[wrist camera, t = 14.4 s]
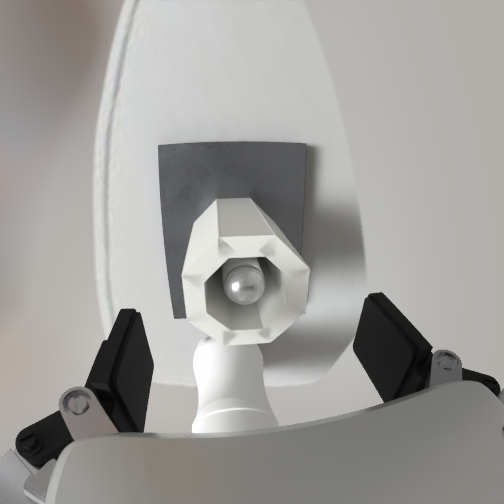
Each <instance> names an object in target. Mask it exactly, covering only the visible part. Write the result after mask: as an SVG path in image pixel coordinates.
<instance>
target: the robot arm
mask: <svg viewBox="0 0 504 504" xmlns="http://www.w3.org/2000/svg"><path fill="white" fill-rule="evenodd" d="M432 348H433V347H432V346H431V345H430V343H429V342H428V341H427V340H426V339H425V338H424V337H423V336H422V334H421V333H420V332H419V331H418V330H417V329H416V328H415V327H414V326H413V325H412V323H411V322H410V321H409V320H408V319H407V318H406V317H405V316H404V315H403V314H402V313H401V312H400V311H399V309H397V307H396V306H395V305H394V304H393V303H392V302H391V301H390V300H389V299H388V298H387V297H386V296H385V295H384V294H383V293H382V292H380V293H371V294H369V295H368V297H367V298H365V301H364V305H363V309H362V313H361V317H360V321H359V325H358V328H357V332H356V336H355V339H354V343H353V350H354V352H355V354H356V356H357V358H358V359H359V361H360V362H361V364H362V366H363V368H364V369H365V371H366V373H367V374H368V376H369V378H370V379H371V381H372V383H373V384H374V386H375V388H376V390H377V391H378V393H379V395H380V396H381V398H382V400H383V402H384V403H383V404H379V405H376V406H373V407H369V408H366V409H362V410H358V411H354V412H351V413H347V414H343V415H338V416H335V417H329V418H325V419H320V420H315V421H310V422H304V423H299V424H293V425H287V426H280V427H272V428H264V429H255V430H245V431H233V432H216V433H143V432H144V426H145V419H146V411H147V405H148V399H149V393H150V386H151V381H152V375H153V369H154V363H153V359H152V355H151V352H150V348H149V344H148V341H147V337H146V333H145V329H144V325H143V321H142V317H141V314H140V312H136V310H135V309H121V310H120V312H119V314H118V316H117V319H116V321H115V323H114V326H113V328H112V330H111V333H110V335H109V337H108V340H104V341H103V342H102V344H101V347H100V349H99V351H98V354H97V356H96V359H95V361H94V364H93V366H92V369H91V372H90V374H89V376H88V379H87V382H86V384H85V387H74V388H70V389H69V390H67V391H66V392H64V393H63V394H62V396H61V398H60V400H59V409H60V410H59V411H57V412H55V413H53V414H51V415H49V416H48V417H46V418H44V419H42V420H40V421H38V422H36V423H35V424H32V425H31V426H28V427H26V428H25V429H23V430H22V431H21V432H20V433H19V434H18V436H17V438H16V449H15V450H14V451H12V449H10V450H9V451H7V453H5V454H4V456H2V457H1V458H0V504H504V389H502V391H500V386H499V384H498V382H497V381H496V379H495V378H493V377H491V376H489V375H485V374H481V373H478V372H475V371H471V370H468V369H464V368H462V363H461V360H460V358H459V357H458V356H457V355H456V354H455V353H453V352H451V351H448V350H438V351H436V352H435V353H434V354H433V353H432V352H431V350H432Z"/></svg>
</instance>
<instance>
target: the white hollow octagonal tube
mask: <svg viewBox="0 0 504 504" xmlns="http://www.w3.org/2000/svg"><path fill="white" fill-rule="evenodd" d="M244 257H257V260H258V262H259V265H260V267H261V270H262V273H263V275H264V278H265V290H264V292H263V294H262V296H261V297H260V298H259V299H258V300H257V301H256V302H254V303H252V304H248V305H241V304H237V303H235V302H233V301H231V300H230V299H229V298H228V296H227V295H226V293H225V291H224V287H223V276H222V264H223V263H224V262H225V261H226V260H227V259H228V258H244ZM309 274H310V268H309V267H308V265H307V264H306V263H305V261H304V260H303V259H302V257H301V256H300V255H299V253H298V252H297V251H296V249H295V248H294V247H293V245H292V244H291V243H290V242H289V240H288V239H287V238H286V236H285V235H284V234H283V232H282V231H281V230H280V229H279V227H278V226H277V225H276V223H275V222H274V221H273V220H272V219H271V218H270V217H269V216H268V215H267V214H266V213H265V212H264V211H263V210H262V209H261V208H260V207H259V206H258V205H257V204H256V203H255V202H254V201H253V200H252V199H251V198H228V199H216V200H215V201H214V202H213V203H212V204H211V205H210V206H209V207H208V208H207V209H206V210H205V212H204V213H203V214H202V215H201V216H200V217H199V218H198V219H197V220H196V221H195V222H194V224H193V228H192V232H191V236H190V240H189V244H188V249H187V253H186V257H185V261H184V266H183V270H182V275H181V276H182V283H183V292H184V300H185V308H186V316H187V321H189V322H190V323H191V324H193V325H194V326H196V327H197V328H199V329H200V330H201V331H203V332H204V333H206V334H207V335H209V336H210V337H212V338H213V339H215V340H216V341H218V342H219V343H221V344H222V345H223V346H230V345H245V344H258V343H270V342H272V341H273V340H274V339H275V338H276V337H278V336H279V335H280V334H281V333H282V332H284V331H285V330H286V329H287V328H288V327H290V326H291V325H292V324H293V323H294V322H295V321H297V320H298V319H299V318H300V317H301V316H302V315H303V314H305V313H306V312H305V311H306V302H307V293H308V284H309Z"/></svg>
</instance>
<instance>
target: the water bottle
mask: <svg viewBox="0 0 504 504" xmlns="http://www.w3.org/2000/svg"><path fill="white" fill-rule="evenodd" d="M263 365H264V361H263V357H262V353H261V350H260V348H259V346H258V345H257V344H245V345H230V346H223V345H222V344H221V343H219V342H218V341H216V340H215V339H213V338H211V337H209V336H208V335H206V336H205V337H204V338H202V339H201V341H200V342H199V344H198V346H197V348H196V350H195V354H194V359H193V368H194V373H195V376H196V381H197V386H198V393H199V406H198V412H197V416H196V418H195V420H194V422H193V425H192V433H216V432H233V431H245V430H255V429H264V428H272V427H279V426H278V421H277V419H276V417H275V415H274V413H273V411H272V409H271V407H270V404H269V401H268V398H267V395H266V391H265V386H264V380H263Z"/></svg>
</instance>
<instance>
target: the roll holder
mask: <svg viewBox="0 0 504 504" xmlns="http://www.w3.org/2000/svg"><path fill="white" fill-rule="evenodd" d="M158 158H159V182H160V199H161V213H162V225H163V236H164V246H165V255H166V264H167V272H168V280H169V288H170V295H171V301H172V308H173V314H174V319H181V318H187V316H186V308H185V300H184V292H183V283H182V276H181V275H182V270H183V266H184V261H185V257H186V253H187V249H188V244H189V240H190V236H191V232H192V228H193V224H194V222H195V221H196V220H197V219H198V218H199V217H200V216H201V215H202V214H203V213H204V212H205V210H206V209H207V208H208V207H209V206H210V205H211V204H212V203H213V202H214V201H215V200H216V199H228V198H251V199H252V200H253V201H254V202H255V203H256V204H257V205H258V206H259V207H260V208H261V209H262V210H263V211H264V212H265V213H266V214H267V215H268V216H269V217H270V218H271V219H272V220H273V221H274V222H275V223H276V225H277V226H278V227H279V229H280V230H281V231H282V232H283V234H284V235H285V236H286V238H287V239H288V240H289V242H290V243H291V244H292V245H293V247H294V248H295V249H296V251H297V252H298V253H299V255H300V256H301V243H302V228H303V211H304V191H305V165H306V144H305V143H285V142H202V143H183V144H168V145H158ZM222 276H223V287H224V291H225V293H226V295H227V296H228V298H229V299H230V300H231V301H233V302H235V303H237V304H241V305H248V304H252V303H254V302H256V301H257V300H258V299H259V298H260V297H261V296H262V294H263V292H264V290H265V278H264V275H263V273H262V270H261V267H260V265H259V262H258V260H257V257H244V258H228V259H227V260H226V261H225V262H224V263H223V264H222Z"/></svg>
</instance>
